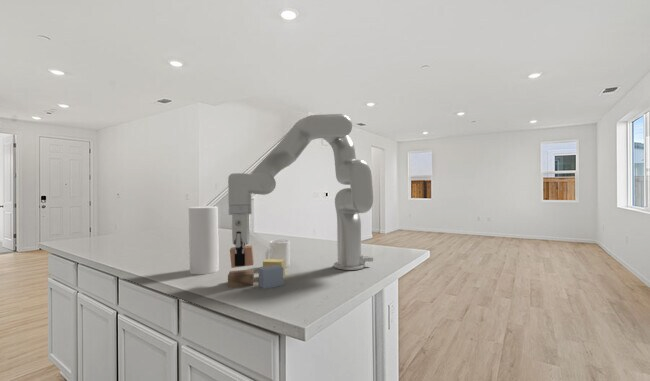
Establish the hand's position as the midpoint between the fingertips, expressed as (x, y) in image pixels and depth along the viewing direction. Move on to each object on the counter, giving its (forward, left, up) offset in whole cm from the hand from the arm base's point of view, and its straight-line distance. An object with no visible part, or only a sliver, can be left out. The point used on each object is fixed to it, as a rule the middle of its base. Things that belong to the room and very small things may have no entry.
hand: (240, 263), depth 110 cm
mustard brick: (-11, -6, -7) cm, 14 cm away
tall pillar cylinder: (+16, -20, -7) cm, 27 cm away
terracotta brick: (-1, 0, -1) cm, 1 cm away
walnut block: (0, 0, -7) cm, 7 cm away
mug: (-12, -20, -7) cm, 25 cm away
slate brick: (-10, +4, -7) cm, 13 cm away
